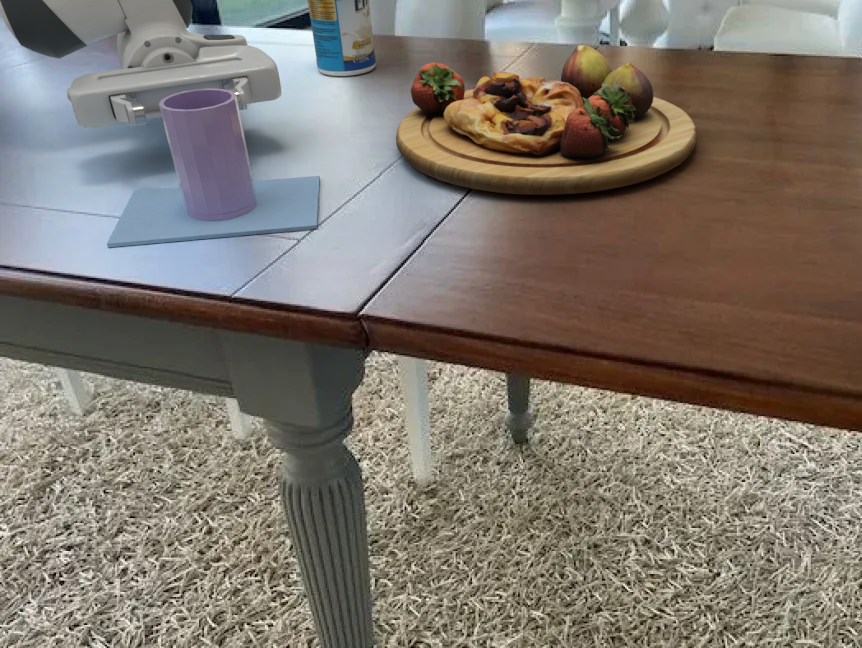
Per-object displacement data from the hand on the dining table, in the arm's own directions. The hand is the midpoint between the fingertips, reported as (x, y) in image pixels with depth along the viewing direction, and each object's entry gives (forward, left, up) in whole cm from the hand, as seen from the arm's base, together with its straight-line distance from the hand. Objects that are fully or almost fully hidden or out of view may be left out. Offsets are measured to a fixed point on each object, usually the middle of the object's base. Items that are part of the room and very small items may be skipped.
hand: (189, 109), depth 82 cm
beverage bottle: (+14, +39, -8) cm, 43 cm away
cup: (+2, -8, -7) cm, 11 cm away
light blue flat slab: (+2, -8, -7) cm, 11 cm away
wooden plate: (+35, +3, -8) cm, 36 cm away
